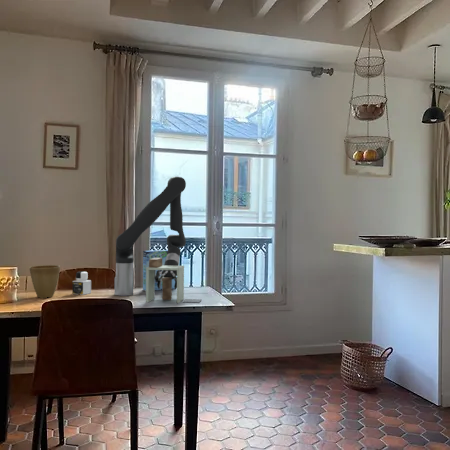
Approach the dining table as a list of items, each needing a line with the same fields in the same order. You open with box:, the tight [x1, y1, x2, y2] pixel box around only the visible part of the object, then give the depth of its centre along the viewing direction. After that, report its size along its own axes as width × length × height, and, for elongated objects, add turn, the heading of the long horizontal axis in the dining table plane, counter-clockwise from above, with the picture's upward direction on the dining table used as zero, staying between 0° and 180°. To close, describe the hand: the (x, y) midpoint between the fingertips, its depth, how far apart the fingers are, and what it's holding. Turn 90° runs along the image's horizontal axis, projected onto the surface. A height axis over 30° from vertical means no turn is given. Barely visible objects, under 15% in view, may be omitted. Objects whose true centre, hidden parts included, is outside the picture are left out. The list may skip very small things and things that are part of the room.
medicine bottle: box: [71, 271, 92, 296], centre depth 251 cm, size 7×7×12 cm
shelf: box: [145, 265, 185, 304], centre depth 231 cm, size 17×13×17 cm
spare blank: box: [149, 258, 162, 268], centre depth 231 cm, size 4×11×4 cm, turn 174°
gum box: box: [142, 249, 175, 292], centre depth 269 cm, size 20×5×23 cm, turn 123°
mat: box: [182, 298, 202, 304], centre depth 228 cm, size 8×8×1 cm
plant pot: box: [29, 264, 61, 299], centre depth 238 cm, size 15×15×16 cm
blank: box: [161, 277, 173, 301], centre depth 235 cm, size 4×4×11 cm
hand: (167, 287), depth 234 cm, fingers open, 8 cm apart
